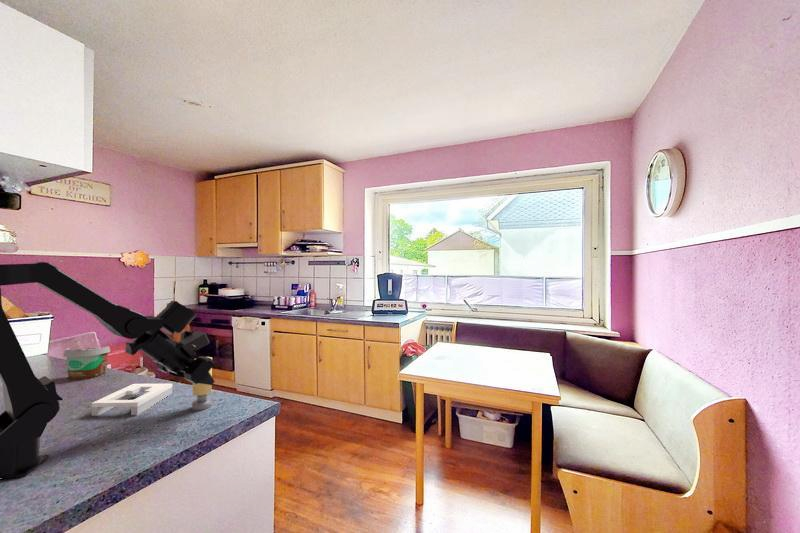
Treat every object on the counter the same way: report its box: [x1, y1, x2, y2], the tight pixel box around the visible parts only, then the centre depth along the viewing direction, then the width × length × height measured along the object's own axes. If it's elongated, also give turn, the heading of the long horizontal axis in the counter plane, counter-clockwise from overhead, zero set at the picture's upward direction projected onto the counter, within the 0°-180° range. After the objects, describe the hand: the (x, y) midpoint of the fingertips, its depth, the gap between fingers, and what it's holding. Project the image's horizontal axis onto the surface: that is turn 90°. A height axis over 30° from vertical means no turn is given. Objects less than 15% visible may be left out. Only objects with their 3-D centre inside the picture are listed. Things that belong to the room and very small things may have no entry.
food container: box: [63, 345, 111, 381], centre depth 109 cm, size 12×6×10 cm, turn 105°
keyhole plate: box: [91, 383, 173, 417], centre depth 89 cm, size 14×11×3 cm
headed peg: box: [191, 356, 213, 412], centre depth 88 cm, size 4×4×13 cm
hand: (207, 381), depth 89 cm, fingers open, 5 cm apart
